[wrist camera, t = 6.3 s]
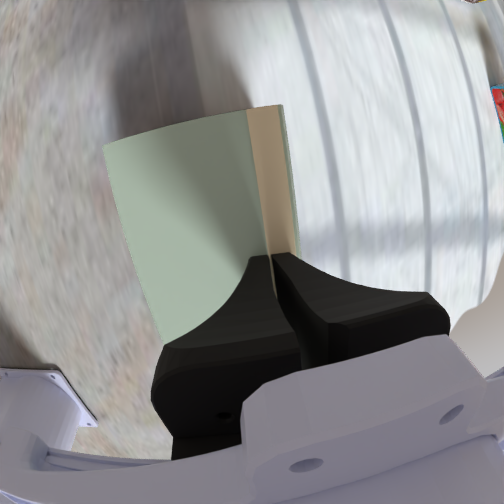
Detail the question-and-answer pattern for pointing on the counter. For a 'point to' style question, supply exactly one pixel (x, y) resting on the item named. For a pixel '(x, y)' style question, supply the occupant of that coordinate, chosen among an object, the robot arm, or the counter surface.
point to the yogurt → (499, 104)
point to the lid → (203, 208)
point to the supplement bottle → (472, 1)
